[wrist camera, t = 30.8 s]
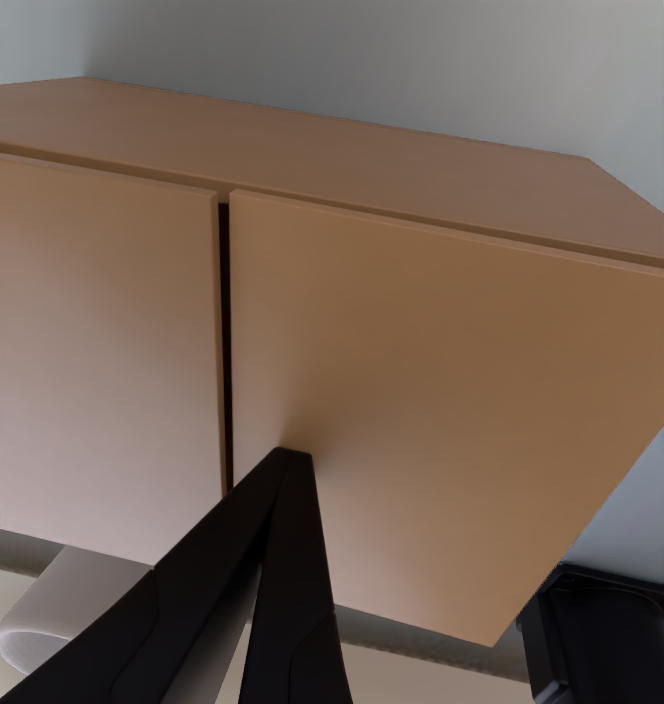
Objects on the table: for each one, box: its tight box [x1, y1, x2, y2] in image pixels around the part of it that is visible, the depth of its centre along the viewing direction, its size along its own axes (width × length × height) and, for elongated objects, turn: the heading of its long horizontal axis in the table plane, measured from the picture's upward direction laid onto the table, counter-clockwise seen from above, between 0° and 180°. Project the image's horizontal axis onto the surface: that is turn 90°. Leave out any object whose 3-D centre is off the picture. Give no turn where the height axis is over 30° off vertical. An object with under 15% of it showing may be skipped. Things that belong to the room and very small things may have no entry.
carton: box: [0, 77, 664, 566], centre depth 13 cm, size 15×11×8 cm
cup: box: [0, 545, 154, 676], centre depth 22 cm, size 11×8×8 cm
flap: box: [229, 189, 664, 647], centre depth 9 cm, size 7×11×1 cm
